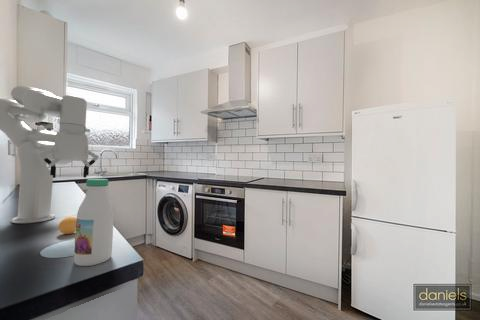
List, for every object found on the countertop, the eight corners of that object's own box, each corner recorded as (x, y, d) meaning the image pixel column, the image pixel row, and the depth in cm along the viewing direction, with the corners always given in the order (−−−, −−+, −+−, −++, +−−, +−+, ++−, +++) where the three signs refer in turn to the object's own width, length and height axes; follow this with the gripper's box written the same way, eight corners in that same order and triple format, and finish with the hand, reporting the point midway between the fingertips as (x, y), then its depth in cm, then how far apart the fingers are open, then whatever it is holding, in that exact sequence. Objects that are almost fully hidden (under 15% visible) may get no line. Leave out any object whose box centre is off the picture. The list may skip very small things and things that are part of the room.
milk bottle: (107, 251, 58) (111, 177, 59) (115, 260, 53) (119, 179, 53) (71, 258, 53) (76, 178, 53) (76, 270, 47) (81, 180, 48)
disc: (41, 245, 60) (41, 245, 60) (96, 236, 69) (96, 236, 69) (39, 262, 50) (39, 261, 50) (103, 249, 59) (103, 249, 59)
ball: (57, 233, 71) (58, 216, 71) (78, 230, 75) (79, 214, 75) (58, 237, 67) (59, 219, 67) (80, 234, 70) (81, 217, 71)
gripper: (98, 134, 87) (96, 176, 87) (40, 127, 76) (37, 177, 75) (102, 132, 82) (99, 177, 81) (39, 125, 70) (36, 178, 70)
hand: (69, 177), depth 78 cm, fingers open, 8 cm apart
